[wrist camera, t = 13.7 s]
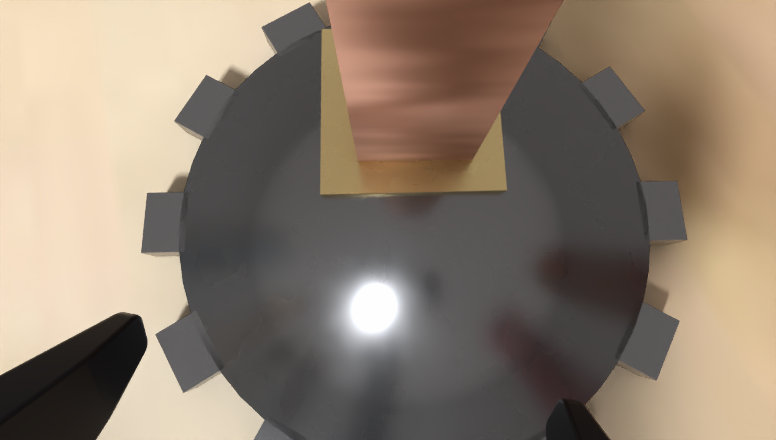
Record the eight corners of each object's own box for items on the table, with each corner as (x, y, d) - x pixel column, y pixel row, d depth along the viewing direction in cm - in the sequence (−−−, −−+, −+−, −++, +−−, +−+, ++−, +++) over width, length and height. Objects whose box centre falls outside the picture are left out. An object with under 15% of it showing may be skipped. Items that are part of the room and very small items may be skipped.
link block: (357, 161, 18) (324, -12, 9) (358, 57, 19) (328, -202, 10) (472, 160, 18) (570, -14, 9) (466, 56, 19) (548, -203, 10)
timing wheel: (710, 496, 17) (738, 512, 16) (133, 512, 17) (110, 530, 15) (628, -3, 22) (644, -24, 20) (179, 6, 22) (165, -15, 20)
